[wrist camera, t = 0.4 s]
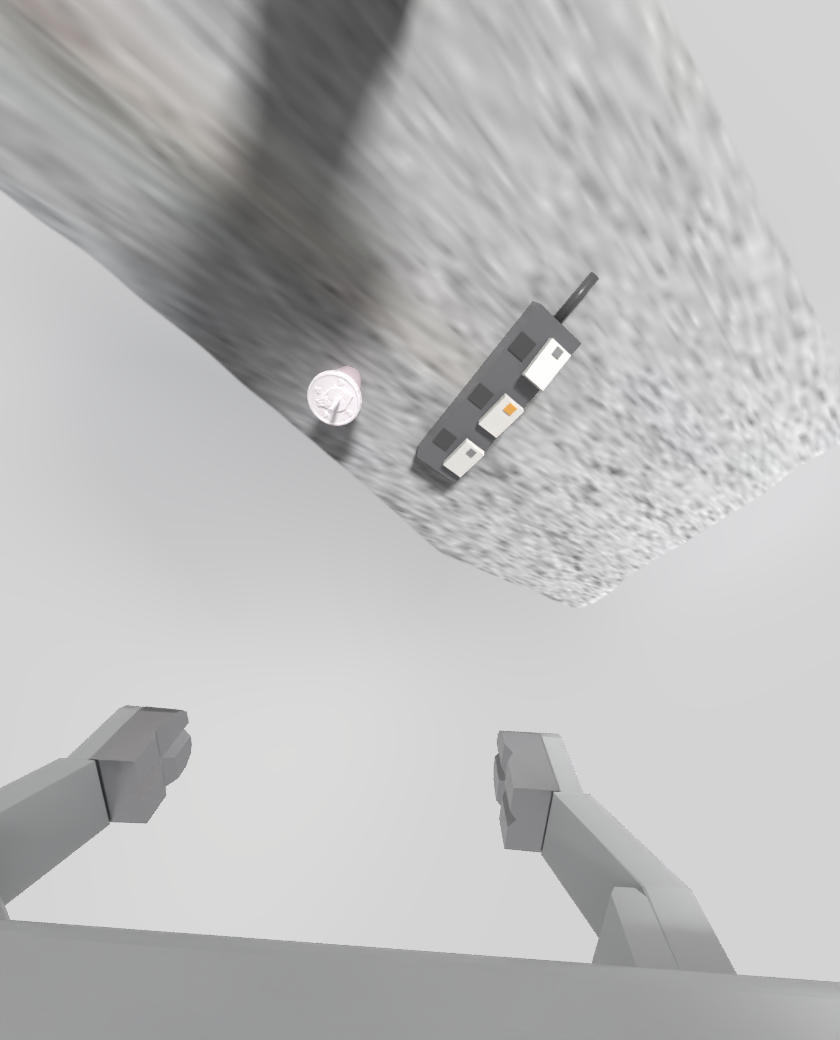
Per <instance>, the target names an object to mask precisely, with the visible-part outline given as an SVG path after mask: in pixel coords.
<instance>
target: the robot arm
mask: <svg viewBox="0 0 840 1040" xmlns="http://www.w3.org/2000/svg"><path fill="white" fill-rule="evenodd" d="M187 724H188V717H187V712H185V711H183V710H176V709H175V710H174V709H165V708H154V707H139V706H128V705H126V706H124V707H122V708H119V709H118V710H117V711H116V712H115V713H114V714H113V715H112V716H111V717H110V718H109V719H108V720H107V721H106V722H104V723H103V724H102V725H101V726H100V727H99V728H98V729H97V730H96V731H95V732H94V733H93V734H92V735H91V736H90V737H89V738H88V739H87V740H85V742H83V743H82V744H81V745H80V746H79V747H78V748H77V749H76V750H75V751H74V752H73V753H72V754H71V755H70V756H69V757H68V758H60V759H57V760H55V761H53V762H51V763H50V764H48V765H45V766H44V767H41V768H40V769H38V770H35V771H33V772H31V773H29V774H28V775H25V776H24V777H22V778H20V779H18V780H16V781H14V782H12V783H10V784H8V785H6V786H4V787H2V788H0V1040H840V982H829V981H815V980H802V979H789V978H775V977H762V976H746V975H737V974H736V972H735V970H734V968H733V966H732V964H731V963H730V961H729V959H728V957H727V955H726V953H725V951H724V949H723V948H722V946H721V944H720V942H719V940H718V938H717V936H716V935H715V933H714V931H713V929H712V927H711V925H710V924H709V922H708V920H707V918H706V916H705V914H704V912H703V911H702V909H701V907H700V905H699V903H698V901H697V899H696V898H695V896H694V894H693V892H692V890H691V889H690V888H689V887H688V886H687V885H685V884H684V883H683V882H682V881H681V880H680V879H679V878H678V877H677V876H676V875H675V874H674V873H673V872H672V871H671V870H670V869H668V868H667V867H666V866H665V865H664V864H663V863H662V862H661V861H660V860H659V859H658V858H657V857H656V856H655V855H654V854H653V853H651V851H649V850H648V849H647V848H646V847H645V846H644V845H643V844H642V843H641V842H640V841H639V840H638V839H637V838H636V837H635V836H634V835H633V834H631V833H630V832H629V831H628V830H627V829H626V828H625V827H624V826H623V825H622V824H621V823H620V822H619V821H618V820H617V819H616V818H615V817H613V816H612V815H611V814H610V813H609V812H608V811H607V810H606V809H605V808H604V807H603V806H602V805H601V804H600V803H599V802H598V801H597V800H596V799H595V798H593V797H592V796H591V795H590V794H584V793H583V790H582V788H581V785H580V783H579V780H578V778H577V775H576V773H575V771H574V768H573V765H572V763H571V760H570V758H569V755H568V753H567V751H566V748H565V745H564V743H563V740H562V738H561V736H560V735H559V734H551V733H531V732H512V731H499V734H498V739H497V746H498V752H499V753H498V754H497V755H496V756H495V762H494V786H495V794H496V800H497V801H498V803H499V804H500V805H501V811H500V818H499V819H500V825H501V831H502V837H503V842H504V848H505V849H513V850H522V851H532V852H542V854H541V855H542V856H543V857H544V859H545V860H546V862H547V863H548V865H549V866H550V867H551V869H552V871H553V872H554V874H555V875H556V876H557V878H558V879H559V881H560V882H561V884H562V885H563V887H564V888H565V889H566V891H567V892H568V894H569V895H570V896H571V898H572V900H573V901H574V902H575V904H576V905H577V907H578V908H579V910H580V911H581V913H582V914H583V915H584V917H585V918H586V920H587V921H588V923H589V924H590V926H591V927H592V928H593V930H594V931H595V933H596V934H597V936H598V937H599V939H598V943H597V947H596V950H595V954H594V957H593V961H592V964H588V963H576V962H575V963H574V962H562V961H549V960H536V959H523V958H522V959H521V958H508V957H495V956H483V955H469V954H456V953H443V952H442V953H441V952H429V951H415V950H402V949H389V948H376V947H375V948H374V947H362V946H349V945H335V944H322V943H309V942H295V941H282V940H267V939H255V938H241V937H228V936H215V935H200V934H188V933H175V932H161V931H148V930H135V929H121V928H108V927H94V926H82V925H81V926H80V925H68V924H55V923H42V922H28V921H15V920H10V919H9V916H8V913H7V911H6V908H5V905H6V904H7V903H8V902H10V901H11V900H12V899H14V898H15V897H16V896H18V895H19V894H20V893H21V892H23V891H24V890H25V889H26V888H28V887H29V886H30V885H32V884H33V883H34V882H35V881H37V880H38V879H40V878H41V877H42V876H43V875H45V874H46V873H47V872H49V871H50V870H51V869H52V868H54V867H55V866H56V865H58V864H59V863H60V862H62V861H63V860H64V859H65V858H67V857H68V856H69V855H71V854H72V853H73V852H74V851H75V850H77V849H78V848H80V847H81V846H82V845H83V844H85V843H86V842H87V841H89V840H90V839H91V838H93V837H94V836H95V835H96V834H98V833H99V832H100V831H102V830H103V829H104V828H105V827H107V826H108V825H109V824H110V823H109V822H125V823H147V822H148V821H149V819H150V818H151V816H152V815H153V814H154V812H155V811H156V809H157V808H158V806H159V805H160V803H161V802H162V801H163V799H164V798H165V796H166V786H167V785H169V784H170V783H171V782H173V781H174V780H176V779H177V778H178V777H179V776H180V774H181V773H182V771H183V770H184V768H185V767H186V764H187V762H188V759H189V756H190V753H191V745H192V744H191V737H190V735H189V734H188V733H187V732H186V731H185V730H184V728H185V727H186V725H187Z"/></svg>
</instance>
